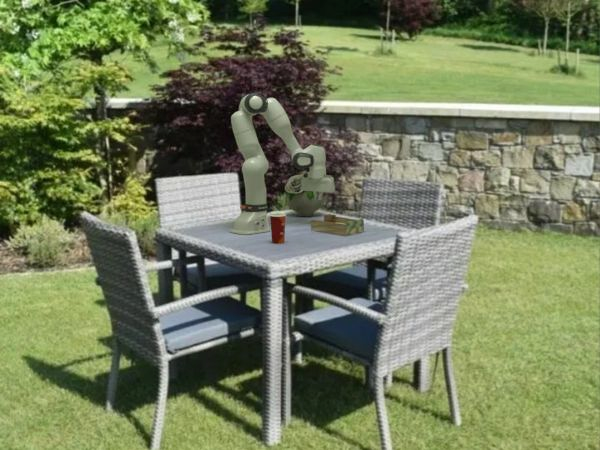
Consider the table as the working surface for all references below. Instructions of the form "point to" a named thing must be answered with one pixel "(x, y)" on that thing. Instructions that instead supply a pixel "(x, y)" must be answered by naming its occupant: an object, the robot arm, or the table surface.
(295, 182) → the flower arrangement
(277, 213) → the coffee cup
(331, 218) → the walnut block
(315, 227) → the trap track
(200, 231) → the table surface
